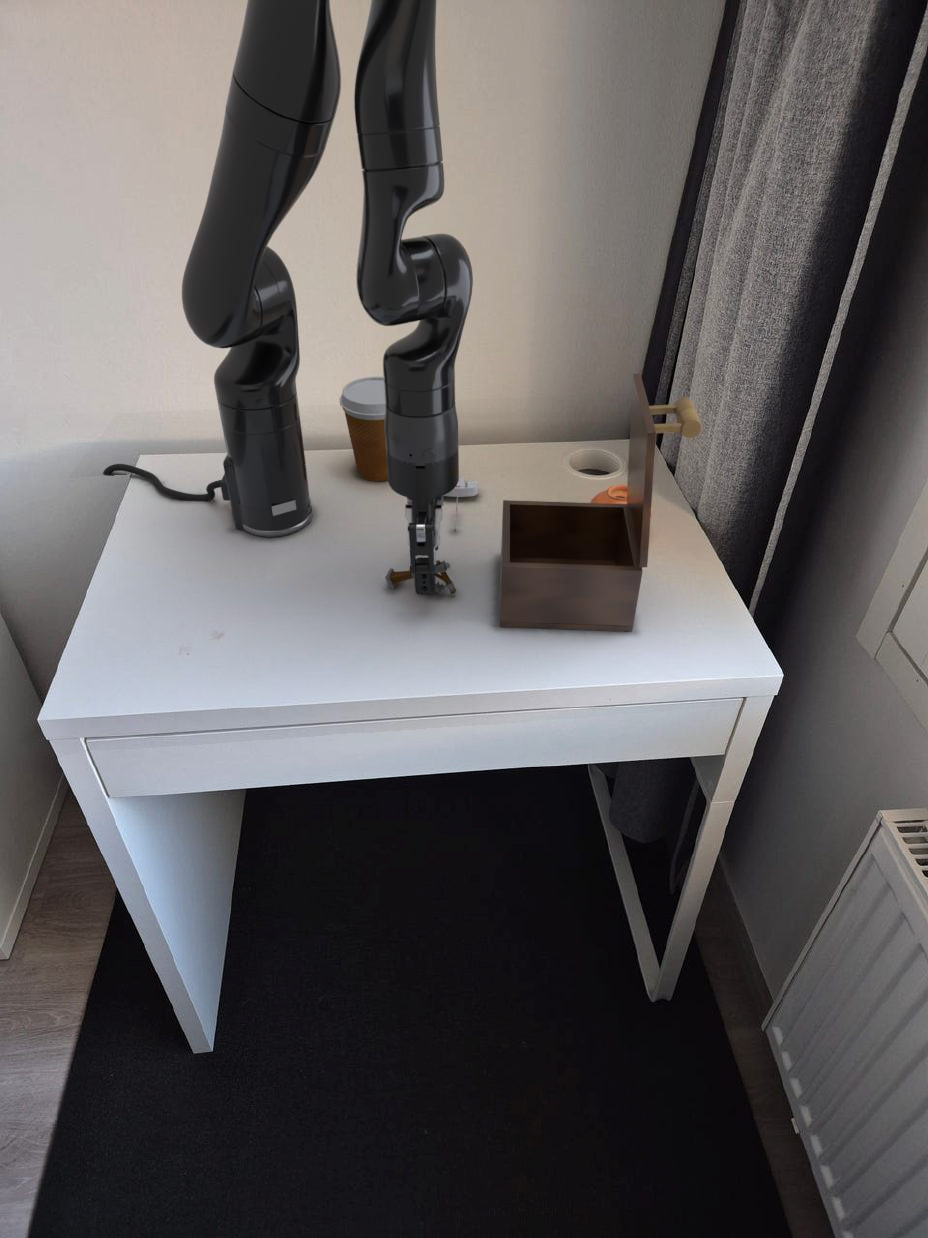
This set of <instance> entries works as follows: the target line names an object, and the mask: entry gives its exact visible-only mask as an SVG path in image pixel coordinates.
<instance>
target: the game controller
mask: <svg viewBox="0 0 928 1238" xmlns="http://www.w3.org/2000/svg"><path fill="white" fill-rule="evenodd" d="M479 488H480V481H478V480H471V481H465V480H464V477H463V476H460V475H459V481H458V484H457V485H456V487H455V488H454V489H453V490H452V491H451V492H449V493H447V494H445V495H443V497H453V498H456V504H455V505H456V506H455V519H454V533H456V531H457V518H458V503H459V502H458V501H459V498H467V497H475V496H477V495H478V493H479V491H480V489H479Z"/></svg>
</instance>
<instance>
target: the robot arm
mask: <svg viewBox="0 0 928 1238" xmlns="http://www.w3.org/2000/svg"><path fill="white" fill-rule="evenodd" d="M436 18H437V0H371V1H370V7H369V13H368V17H367V21H366V22H367V23H366V27H365V32H364V35H363V40H362V44H361V49H360V53H359V56H358V62H357V67H356V73H355V81H354V93H353V99H354V100H353V110H354V121H355V122H354V123H355V130H356V137H357V144H358V152H359V160H360V167H361V168H360V169H361V176H362V182H363V183H362V186H363V192H362V193H363V195H362V213H361V214H362V215H361V227H360V235H359V236H360V237H359V244H358V251H357V259H356V273H355V279H356V281H355V283H356V284H355V285H356V292H357V295H358V300H359V302H360V305H361V306H362V308H363V310H364V311H365V313H366V315H367V316H368V317H369V318H370V319H371V320H372V321H373V322H374V323H376V324H377V325H380V326H383V327H395V326H396V327H397V326H400V325H406V324H409V323H414V322H415V323H416V322H418V323H417V326H416V327H415V329H413V330H412V331H411V332H410V333H407V335H405V336H404V337H401V338H400V339H397V340H396V341H394V342H392V343H391V344H390V345H389V346H388V347H387V348H386V349H385V350H384V352H383V355H382V375H383V376H382V377H383V380H384V394H385V421H384V429H385V443H386V457H387V470H388V480H387V481H388V485H389V487H390V489H391V490H392V491H393V492H395V493H396V494H397V495H400V496H402V497H404V498H406V503H405V507H404V508H405V510H404V511H405V512H404V514H405V515H404V517H405V519H406V520H407V545H408V546H409V557H410V558H409V560H410V563H409V564H410V565H409V570H411V574H414V577H415V579H414V591H415V594H416V595H418V596H433V595H434V594H436V592H435V583H436V576H435V570H436V566H435V565H436V561H437V560H436V551H438V550H439V548H440V547H439V546H440V545H441V521H442V520H443V506H444V496H443V495H445V494H447V493H449V492H451V491H452V490H453V489H454V488H455V487H456V485H457V484H458V481H459V476H460V469H459V468H460V466H459V465H460V463H459V462H460V461H459V459H460V458H459V457H460V455H459V419H458V414H457V413H458V412H457V407H456V406H457V405H456V371H455V367H456V360H457V356H458V352H459V348H460V343H461V339H462V335H463V331H464V328H465V325H466V324H465V323H466V319H467V316H468V312H469V309H470V306H471V305H470V304H471V301H472V296H473V295H472V294H473V286H474V285H473V284H474V277H473V275H474V274H473V267H472V263H471V259H470V256H469V254H468V252H467V250H466V247H464V245H463V244H462V243H461V242H460V240H459V239H457V238H456V236H455V237H454V236H453V235H451V234H448V233H433V234H427V235H422V236H415V237H410V238H403V233H404V231H405V227H406V224H407V221H408V220H409V218H410V217H411V216H413V215H414V214H415V213H417V212H419V211H421V210H423V209H426V208H428V207H430V206H432V205H433V204H436V203H437V202H439V201H440V200H441V198H442V197H443V195H444V192H445V171H444V163H443V161H444V159H443V158H444V157H443V148H442V146H443V145H442V137H441V135H442V134H441V124H440V123H441V122H440V113H439V103H438V88H437V87H438V86H437V67H436V65H437V64H436V63H437V61H436V24H437V22H436V21H437V19H436ZM339 55H340V54H339V49H338V43H337V38H336V34H335V29H334V24H333V18H332V11H331V0H247V2H246V8H245V14H244V20H243V24H242V29H241V35H240V39H239V43H238V47H237V51H236V56H235V60H234V62H233V63H234V64H233V67H232V74H231V78H230V84H229V88H228V93H227V98H226V104H225V110H224V116H223V124H222V128H221V135H220V139H219V144H218V148H217V152H216V157H215V162H214V166H213V169H212V174H211V179H210V184H209V187H208V188H209V189H208V193H207V197H206V202H205V205H204V208H203V213H202V216H201V219H200V222H199V226H198V229H197V231H196V234H195V237H194V240H193V243H192V247H191V250H190V252H189V255H188V258H187V261H186V265H185V268H184V271H183V276H182V281H181V303H182V304H181V305H182V309H183V313H184V316H185V319H186V322H187V324H188V326H189V328H190V329H191V331H192V332H193V335H195V337H197V339H198V340H200V341H201V342H202V343H203V344H205V345H207V346H209V347H212V348H215V349H229V351H228V352H227V354H226V355H225V357H224V358H223V359H222V361H221V362H220V363H219V365H218V366H217V368H216V369H215V371H214V374H213V385H214V389H215V390H214V391H215V395H216V402H217V406H218V410H219V412H218V413H219V417H220V422H221V428H222V434H223V438H224V444H225V449H226V450H225V451H226V455H225V457H224V459H223V462H222V465H223V472H224V474H223V476H222V478H221V479H219V480H214V481H212V482H210V483H208V485H207V486H206V488H205V490H206V493H204V494H202V493H201V494H197V493H196V494H193V493H187V492H182V491H178V490H175V489H171V488H168V487H166V486H165V485H164V484H163V483H162V482H161V480H160V479H159V478H158V477H157V476H156V475H155V474H154V473H152V472H151V471H148V470H145V469H143V468H139V467H137V466H135V465H130V464H125V463H115V464H110V465H109V466H107V467H106V468H105V469H104V470H103V472H102V475H103V476H110V475H111V474H112V473H114V472H118V471H119V472H121V471H122V472H126V473H130V474H134V475H137V476H140V477H142V478H145V479H147V480H149V481H151V483H152V484H153V485H154V487H155V488H156V489H157V490H158V491H159V492H160V493H161V494H163V495H165V496H168V497H171V498H174V499H179V500H181V501H189V502H191V501H192V502H208V501H211V500H213V499H214V498H215V497H216V492H215V490H217V489H218V488H219V489H220V490H221V496H222V500H223V501H225V502H227V501H228V502H229V504H230V506H231V513H232V519H233V523H234V528H235V529H237V530H243V531H245V532H246V533H249V534H251V535H255V536H259V537H266V538H270V537H271V538H272V537H281V536H286V535H290V534H293V533H296V532H298V531H300V530H302V529H303V528H305V527H306V526H307V525H308V524H309V523H310V522H311V520H312V518H313V508H312V501H311V496H310V488H309V487H310V486H309V480H308V471H307V465H306V455H305V447H304V439H303V431H302V424H301V423H302V422H301V413H300V405H299V397H298V391H297V375H298V372H299V369H300V362H301V353H300V351H301V350H300V339H299V321H298V308H297V307H298V306H297V300H296V291H295V289H294V283H293V280H292V277H291V274H290V272H289V270H288V267H287V266H286V264H285V262H284V261H283V260H282V258H281V257H280V256H279V254H278V253H277V252H276V251H275V250H273V249H272V248H271V247H270V246H268V245H269V243H270V241H271V239H272V237H273V236H274V234H275V232H276V231H277V229H278V228H279V226H281V224H282V222H283V221H284V219H285V218H286V217H287V215H288V214H289V213H290V211H291V210H292V208H293V207H294V206H295V204H296V203H297V201H298V200H299V198H300V197H301V195H302V194H303V193H304V191H305V190H306V188H307V187H308V185H309V184H310V182H311V181H312V179H313V177H314V175H315V174H316V172H317V170H318V168H319V166H320V163H321V161H322V158H323V156H324V154H325V150H326V147H327V144H328V142H329V138H330V134H331V130H332V128H333V125H334V121H335V117H336V114H337V111H338V105H339V102H340V97H341V92H342V69H341V62H340V56H339ZM402 238H403V239H402ZM419 556H420V557H419ZM422 556H423V557H422ZM425 556H426V557H425Z"/></svg>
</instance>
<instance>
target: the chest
mask: <svg viewBox="0 0 928 1238" xmlns="http://www.w3.org/2000/svg"><path fill="white" fill-rule="evenodd" d="M501 516H502V518H501V539H500V574H499V575H500V577H499V626H498V627H500V628H513V629H514V628H515V629H517V628H518V629H519V628H520V629H547V630H548V629H549V630H575V631H577V630H578V631H601V632H602V631H603V632H604V631H606V632H633V628H634V623H635V617H636V612H637V606H638V601H639V596H640V595H639V593H640V590H641V589H640V588H641V583H642V578H643V577H642V576H643V572H644V571H643V567H639V562H638V557H637V552H636V546H635V541H634V536H633V531H632V526H631V521H630V515H629V510H628V505H627V504H610V503H590V502H576V501H575V502H573V501H543V500H542V501H539V500H507V499H503V500H502V515H501Z"/></svg>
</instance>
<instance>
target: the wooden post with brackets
mask: <svg viewBox="0 0 928 1238" xmlns="http://www.w3.org/2000/svg"><path fill="white" fill-rule="evenodd" d="M435 561H436V565H435V566H436V570H435V578H438V579H439V580H441V581H442V583H440V582H439V581H438V580H437V582H435V593H438V594H440V593H441V591H442V590H445V589H447V591H449V593H450V595H454V594H456V592H457V589H456V587H455V583H454V581H453V580H451V578H450V576H449V574H448V572H447V571H448V570H449V569H450V568H451V563H450V562H446V560H442V561H441V560H440V559H439V560H438V559H437V560H435ZM384 578H385V580H386V582H387V583H388V586H389V588H390V589H391V590H393V589H396V586H397V584H400V583H402V582H405V581H408V580H415V577H414V574H411V570H410V569H409V570H401V571H398V570H397V571H395V569H394V568H393V567H392V568H391V567H390V568H389V569H388V571H387V573H386V574H385V576H384ZM443 582H444V584H443Z"/></svg>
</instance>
